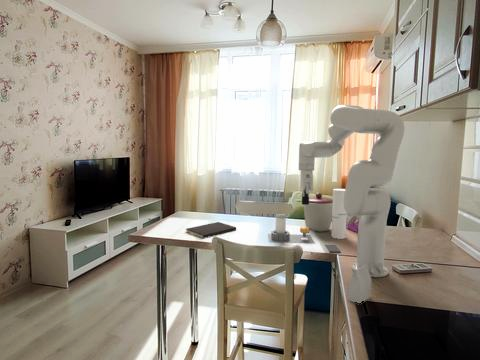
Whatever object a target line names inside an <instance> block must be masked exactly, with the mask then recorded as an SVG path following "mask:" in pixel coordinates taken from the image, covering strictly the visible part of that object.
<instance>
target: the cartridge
mask: <svg viewBox="0 0 480 360" xmlns="http://www.w3.org/2000/svg"><path fill="white" fill-rule="evenodd" d="M286 218H287V214H285V213H276V214H275V229H274V230H275V233H276V234H285V231H287V230H286V228H287V227H286V225H287V223H286V221H287V219H286Z"/></svg>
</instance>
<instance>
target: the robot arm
mask: <svg viewBox="0 0 480 360" xmlns="http://www.w3.org/2000/svg"><path fill="white" fill-rule="evenodd" d="M329 116H330V118H329V119H330V123H331V124H330V125H329V127H328V128H327V129H328V130H327V132H328V133H327V134H328V135H329V137H330V138H331V139H329V140H327V141H325V140H320V141H319V140H317V141H315V140H311V141H301V142H300V143H299V146H298V147H299V148H298V171H300V181H299V183H300V189H301V190H302V191H301V194H302V195H301V205H303V206H304V205H308V204H309V197H310V191H311V192H313V191H314V171H315V164H316V162H315V159H319V158H331V157H333V156H334V155H336V154H338V153H339V152H340V151H341V150H342V149H343V147H344V145H345V140H346V139H347V138H348V137H350V136H351V135H352V134H354V133H357V134H373V135H374V134H375V135H376V134H377V135H379V137H378V138H377V139H376V140H375V141H374V144H373V145H372V148H371V153H370V157H369V159H362V160H358V161H356V162H355V163H353V164H352V166H351V167H350V168H349V171H348V175H347V179H346V184H345V188H344V189H345V194H344V201H343V203H344V208H345V210H346V212H347V213H348V214H350V215H352V216H361V217H360V220H359V225H358V233H357V245H356V246H357V248H356V262H354V263H353V264H352V265H351V268H352V271H354V270H356V269H358V268H360V267H363V266H365V265H367V269H368V272H369V274H370V277H371V278H383V277H385V276H388V274H389V270H388V269H387V268H388V267H385V266H384V265H385V249H386V234H387V220H388V216H389V213H390V209H391V202H392V201H391V197H390V195H389V193H388V192H387V191H385V190H384V189H381V188H379V187H384V186H386V185H389V184H390V183H391V181H392V178H393V175H394V171H395V167H396V163H397V159H398V155H399V151H400V147H401V144H402V142H403V139H404V135H405V123H404V121H403V119H402V117H401V116H400V114H398V113H396V112H395V111H391V110H386V109H385V110H384V109H375V108H364V107H362V106H358V105H350V104H340V105H337V106H336V107H334V108H333V110H332V111H331V114H330V115H329ZM374 187H375V188H374ZM377 187H378V188H377Z"/></svg>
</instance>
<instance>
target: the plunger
mask: <svg viewBox="0 0 480 360" xmlns="http://www.w3.org/2000/svg"><path fill="white" fill-rule="evenodd" d="M299 232H300V233H302V235H303V237H306V235H307V234H308V233H310V229H309V228H308V227H306V226H300V227H299Z"/></svg>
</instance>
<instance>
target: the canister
mask: <svg viewBox="0 0 480 360" xmlns="http://www.w3.org/2000/svg"><path fill="white" fill-rule="evenodd" d="M332 208H333V198H329V197H325V196H324V197H323V194H322V193H321V192H316V193H315V196H309V204H308V205H303V212H304V214H303V215H304V222H305V223H304V224H305V227H308V228H309V230H312V231H314V232H326V231H329V230H330V228H331V227H332Z"/></svg>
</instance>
